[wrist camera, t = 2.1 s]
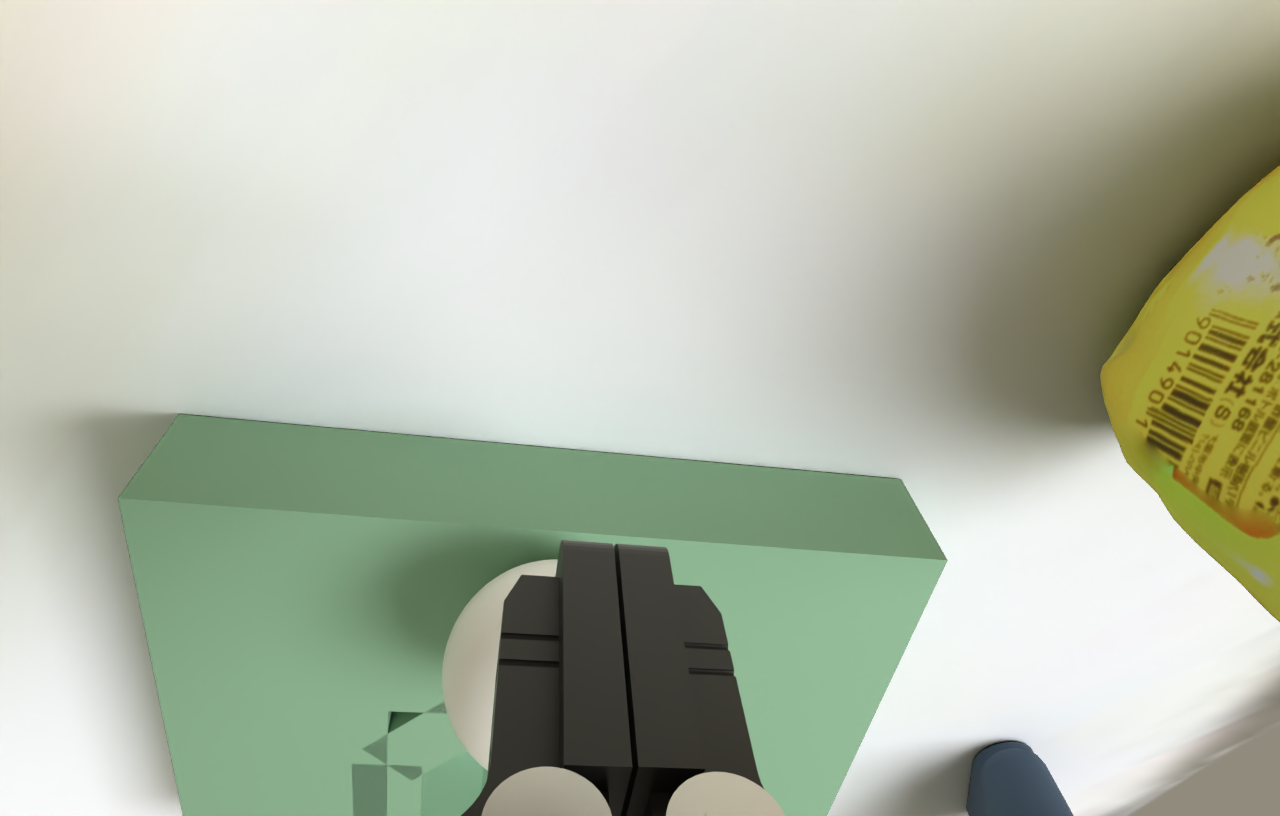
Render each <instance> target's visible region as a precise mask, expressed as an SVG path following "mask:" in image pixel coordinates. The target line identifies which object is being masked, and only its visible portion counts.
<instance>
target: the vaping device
mask: <svg viewBox="0 0 1280 816" xmlns="http://www.w3.org/2000/svg"><path fill="white" fill-rule="evenodd" d="M966 809H967V812H968V814H969V816H1073V814H1072V812H1071V810H1070V808H1069V807H1068V805H1067V803H1066V801H1065V799H1064V797H1063V796H1062V794H1061V792H1060V790H1059V788H1058V787H1057V785H1056V783H1055V781H1054V779H1053V777H1052V776H1051V774H1050V772H1049V770H1048V768H1047V767H1046V765H1045V764H1044V763H1043V761H1042V760H1041V759H1040V758H1039V757H1038V756H1037V755H1036V754H1034V753H1033V751H1032V749H1031V748H1030V747H1029V746H1028V745H1026V744H1023V743H1019V742H1003V743H998V744H995V745H992V746H990V747H987V748H985V749H984V750H982V751H981V752H980V753H979V754H978V755H977V756H976V758H975V759H974V761H973V766H972V773H971V780H970V786H969V793H968V800H967V806H966Z"/></svg>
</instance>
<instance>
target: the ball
mask: <svg viewBox="0 0 1280 816" xmlns="http://www.w3.org/2000/svg"><path fill="white" fill-rule="evenodd" d="M557 562H558V559H551V560H541V561H535V562H530V563H527V564H523V565H520V566H517V567H515V568H512V569H510V570H508V571H506V572H504V573H503V574H501V575H499V576H498V577H496V578H495V579H493V580H492V581H490V582H489V583H487V584H486V585H485V586H484V587H483V588H482V589H481V590H480V591H479V592H478V593H477V594H476V595H475V596H474V597H473V598H472V599H471V600H470V601H469V603H468V604H467V605H466V606H465V608H464V609H463V611H462V612H461V614H460V615H459V617H458V619H457V621H456V622H455V624H454V627H453V629H452V631H451V634H450V636H449V639H448V642H447V645H446V649H445V653H444V659H443V666H442V690H443V699H444V703H445V707H446V711H447V715H448V718H449V721H450V723H451V725H452V727H453V729H454V731H455V734H456V736H457V738H458V739H459V741H460V742H461V743H462V745H463V746H464V748H465V749H466V750H467V752H468V753H469V754H470V755H471V756H472V757H473V758H474V760H476V761H477V762H478V763H479V764H480V765H481V766H482V767H483V768H485V769H486V770H487V771H488V763H489V751H490V740H491V727H492V716H493V703H494V692H495V680H496V670H497V661H498V651H499V642H500V633H501V623H502V614H503V605H504V600H505V599H506V597H507V596H508V594H509V593H510V591H511V590H512V588H513V587H514V585H515V584H516V582H517V581H518V579H519V578H520V576H521V575H535V576H550V577H555V575H556V568H557Z"/></svg>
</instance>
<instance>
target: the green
mask: <svg viewBox="0 0 1280 816" xmlns="http://www.w3.org/2000/svg"><path fill="white" fill-rule="evenodd" d="M118 502H119V507H120V512H121V516H122V521H123V526H124V531H125V536H126V541H127V546H128V551H129V555H130V560H131V565H132V570H133V575H134V580H135V585H136V589H137V594H138V599H139V604H140V609H141V614H142V619H143V624H144V628H145V633H146V638H147V643H148V648H149V653H150V658H151V663H152V667H153V672H154V677H155V682H156V687H157V692H158V697H159V702H160V706H161V711H162V716H163V721H164V726H165V731H166V736H167V740H168V745H169V750H170V755H171V760H172V765H173V770H174V775H175V779H176V784H177V789H178V794H179V799H180V804H181V809H182V814H183V816H461V815H462V814H463V813H464V812H465V811H466V810H467V809H468V808H469V807H470V806H471V805H472V804H473V803H474V802H475V800H476V799H477V798H478V796H479V795H480V793H481V791H482V789H483V788H484V786H485V784H486V781H487V774H488V771H487V770H486V769H485V768H483V767H482V766H481V765H480V764H479V763H478V762H477V761H476V760H474V758H473V757H472V756H471V755H470V754H469V753H468V752H467V751H466V749H465V748H464V746H463V745H462V743H461V742H460V741H459V739H458V738H457V736H456V734H455V731H454V729H453V727H452V725H451V723H450V721H449V718H448V715H447V711H446V707H445V703H444V699H443V690H442V666H443V659H444V653H445V649H446V645H447V642H448V639H449V636H450V634H451V631H452V629H453V627H454V624H455V622H456V621H457V619H458V617H459V615H460V614H461V612H462V611H463V609H464V608H465V606H466V605H467V604H468V603H469V601H470V600H471V599H472V598H473V597H474V596H475V595H476V594H477V593H478V592H479V591H480V590H481V589H482V588H483V587H484V586H485V585H486V584H487V583H489V582H490V581H492V580H493V579H495V578H496V577H498V576H499V575H501V574H503V573H504V572H506V571H508V570H510V569H512V568H515V567H517V566H520V565H523V564H527V563H530V562H535V561H541V560H551V559H558V555H559V548H560V543H561V540H571V541H585V542H599V543H612V544H613V546H615V544H630V545H643V546H657V547H666V548H667V549H668V552H669V557H670V563H671V568H672V574H673V580H674V584H676V585H691V586H701V587H702V588H703V589H704V591H705V592H706V594H707V595H708V596H709V598H710V599H711V600H712V602H713V603H714V604H715V606H716V607H717V608H718V610H719V611H720V613H721V614H722V618H723V623H724V627H725V632H726V636H727V640H728V651H730V653H731V658H732V662H733V667H734V676H735V677H736V680H737V684H738V688H739V693H740V697H741V701H742V706H743V710H744V715H745V719H746V723H747V728H748V732H749V736H750V741H751V745H752V750H753V754H754V758H755V763H756V767H757V771H758V775H759V778H760V781H761V783H762V785H763V788H764V790H765V791H766V792H768V793H769V794H770V795H771V796H772V797H773V798H774V800H775V801H776V802H777V803H778V804H779V806H780V807H781V809H782V811H783V812H784V814H785V816H827V814H828V812H829V810H830V808H831V806H832V803H833V801H834V799H835V797H836V795H837V793H838V791H839V789H840V787H841V784H842V782H843V780H844V778H845V776H846V774H847V772H848V770H849V767H850V765H851V763H852V761H853V759H854V757H855V755H856V753H857V751H858V748H859V746H860V744H861V742H862V740H863V738H864V736H865V734H866V732H867V729H868V727H869V725H870V723H871V721H872V719H873V717H874V715H875V713H876V710H877V708H878V706H879V704H880V702H881V700H882V698H883V696H884V693H885V691H886V689H887V687H888V685H889V683H890V681H891V679H892V677H893V674H894V672H895V670H896V668H897V666H898V664H899V662H900V660H901V658H902V655H903V653H904V651H905V649H906V647H907V645H908V643H909V641H910V638H911V636H912V634H913V632H914V630H915V628H916V626H917V624H918V622H919V619H920V617H921V615H922V613H923V611H924V609H925V607H926V605H927V603H928V600H929V598H930V596H931V594H932V592H933V590H934V588H935V586H936V584H937V581H938V579H939V577H940V575H941V573H942V571H943V569H944V567H945V564H946V562H947V559H946V557H945V555H944V553H943V552H942V550H941V548H940V546H939V545H938V543H937V541H936V539H935V538H934V536H933V534H932V532H931V531H930V529H929V527H928V525H927V524H926V522H925V520H924V519H923V517H922V515H921V513H920V512H919V510H918V508H917V506H916V505H915V503H914V501H913V499H912V498H911V496H910V494H909V492H908V491H907V489H906V487H905V485H904V484H903V482H902V480H901V479H892V478H881V477H870V476H859V475H848V474H836V473H825V472H814V471H803V470H792V469H781V468H770V467H759V466H748V465H737V464H726V463H715V462H703V461H692V460H681V459H670V458H659V457H648V456H637V455H626V454H615V453H604V452H593V451H581V450H570V449H559V448H548V447H537V446H526V445H515V444H504V443H493V442H482V441H471V440H460V439H448V438H437V437H426V436H415V435H404V434H393V433H382V432H371V431H360V430H349V429H338V428H326V427H315V426H304V425H293V424H282V423H271V422H260V421H249V420H238V419H227V418H216V417H205V416H193V415H182V414H179V415H178V417H177V418H176V419H175V421H174V422H173V423H172V425H171V426H170V428H169V429H168V430H167V432H166V433H165V434H164V436H163V437H162V438H161V440H160V441H159V443H158V444H157V445H156V447H155V448H154V449H153V451H152V452H151V453H150V455H149V456H148V458H147V459H146V460H145V462H144V463H143V464H142V466H141V467H140V468H139V470H138V471H137V473H136V474H135V475H134V477H133V478H132V479H131V481H130V482H129V483H128V485H127V486H126V488H125V489H124V490H123V492H122V493H121V494H120V496H119V497H118Z"/></svg>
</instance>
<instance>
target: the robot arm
mask: <svg viewBox="0 0 1280 816" xmlns="http://www.w3.org/2000/svg"><path fill="white" fill-rule="evenodd" d="M461 816H785V814H784V812H783V811H782V809H781V807H780V806H779V804H778V803H777V802H776V801H775V800H774V798H773V797H772V796H771V795H770V794H769V793H768V792H766V791H765V790H764V788H763V785H762V783H761V781H760V778H759V775H758V771H757V767H756V763H755V758H754V754H753V750H752V745H751V741H750V736H749V732H748V728H747V723H746V719H745V715H744V710H743V706H742V701H741V697H740V693H739V688H738V684H737V680H736V677H735V676H734V667H733V662H732V658H731V653H730V651H728V640H727V636H726V632H725V627H724V623H723V618H722V614H721V613H720V611H719V610H718V608H717V607H716V606H715V604H714V603H713V602H712V600H711V599H710V598H709V596H708V595H707V594H706V592H705V591H704V589H703V588H702V587H701V586H691V585H676V584H674V580H673V574H672V568H671V563H670V557H669V552H668V549H667V548H666V547H657V546H643V545H630V544H615V546H613V544H612V543H599V542H585V541H571V540H561V543H560V548H559V555H558V562H557V568H556V575H555V577H550V576H535V575H521V576H520V578H519V579H518V581H517V582H516V584H515V585H514V587H513V588H512V590H511V591H510V593H509V594H508V596H507V597H506V599H505V600H504V605H503V614H502V623H501V633H500V642H499V651H498V661H497V670H496V680H495V692H494V703H493V716H492V727H491V740H490V751H489V763H488V774H487V781H486V784H485V786H484V788H483V789H482V791H481V793H480V795H479V796H478V798H477V799H476V800H475V802H474V803H473V804H472V805H471V806H470V807H469V808H468V809H467V810H466V811H465V812H464V813H463V814H462V815H461Z"/></svg>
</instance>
